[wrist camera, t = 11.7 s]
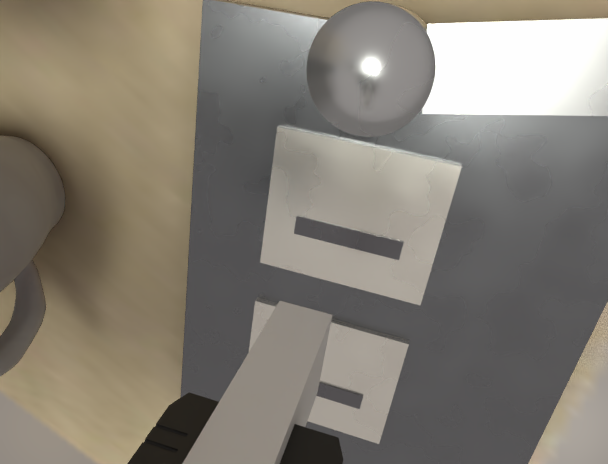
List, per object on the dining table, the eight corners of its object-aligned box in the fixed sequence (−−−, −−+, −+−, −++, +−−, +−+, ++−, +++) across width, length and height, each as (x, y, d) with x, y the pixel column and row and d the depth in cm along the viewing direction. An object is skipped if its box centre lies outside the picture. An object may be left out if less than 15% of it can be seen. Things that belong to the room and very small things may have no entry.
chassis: (195, 406, 29) (175, 436, 27) (224, 0, 20) (198, -2, 18) (488, 503, 26) (492, 545, 24) (684, 79, 17) (718, 88, 15)
